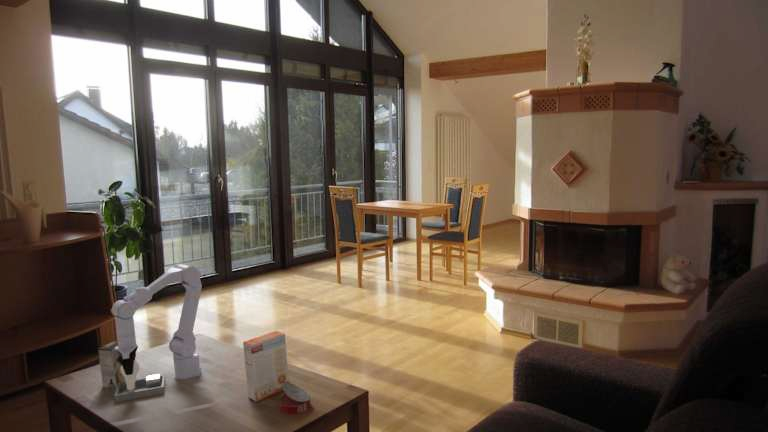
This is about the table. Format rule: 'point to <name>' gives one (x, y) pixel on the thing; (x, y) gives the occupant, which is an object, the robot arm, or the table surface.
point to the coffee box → (110, 365)
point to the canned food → (294, 399)
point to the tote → (138, 390)
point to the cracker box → (265, 365)
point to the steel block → (153, 381)
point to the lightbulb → (131, 376)
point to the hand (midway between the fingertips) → (130, 370)
